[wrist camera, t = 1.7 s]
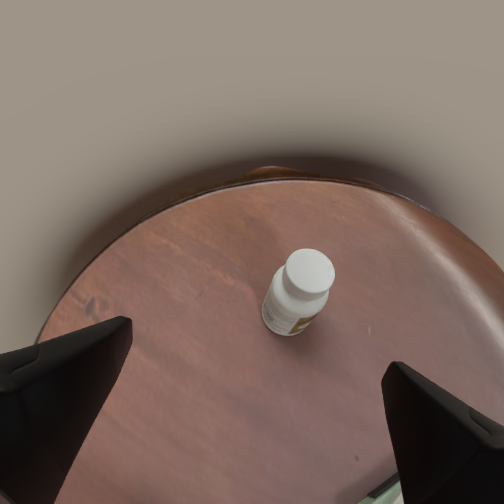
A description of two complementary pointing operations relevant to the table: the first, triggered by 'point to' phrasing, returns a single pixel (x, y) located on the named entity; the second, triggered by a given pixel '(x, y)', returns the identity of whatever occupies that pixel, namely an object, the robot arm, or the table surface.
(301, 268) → the pill bottle
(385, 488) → the scale
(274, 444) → the table surface
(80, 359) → the robot arm
